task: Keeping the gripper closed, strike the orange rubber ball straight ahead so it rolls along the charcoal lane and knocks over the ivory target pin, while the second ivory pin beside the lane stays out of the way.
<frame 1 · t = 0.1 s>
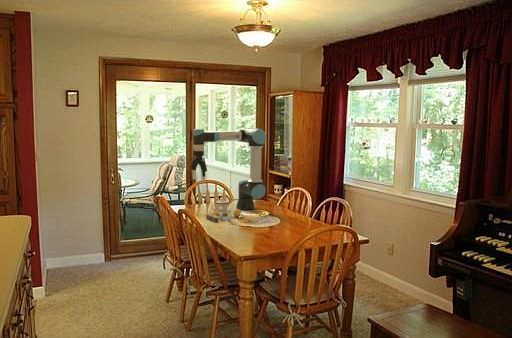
hand: (198, 180, 325), 28 cm above the table, tool pointing down, fingers open, 13 cm apart
teacup with lid: (219, 213, 345), on the table
back wall: (212, 220, 322), on the table
lane mark: (230, 217, 330), on the table
target pin: (220, 219, 326), on the table
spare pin: (229, 220, 322), on the table
ball: (237, 213, 333), on the table
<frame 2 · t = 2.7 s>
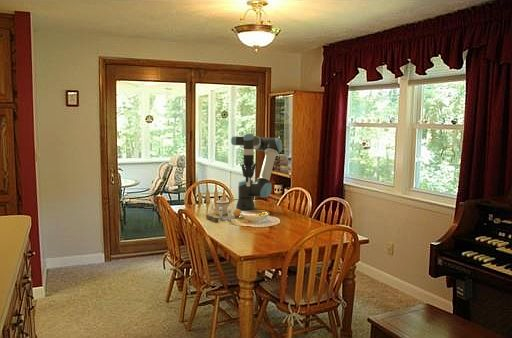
hand: (248, 186, 337), 22 cm above the table, tool pointing down, fingers closed
nothing on the table moved.
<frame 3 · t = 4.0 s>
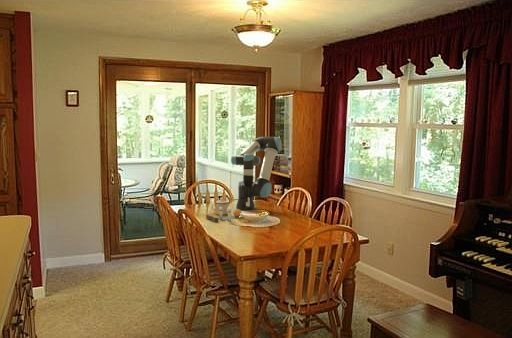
hand: (247, 206, 338), 7 cm above the table, tool pointing down, fingers closed
nothing on the table moved.
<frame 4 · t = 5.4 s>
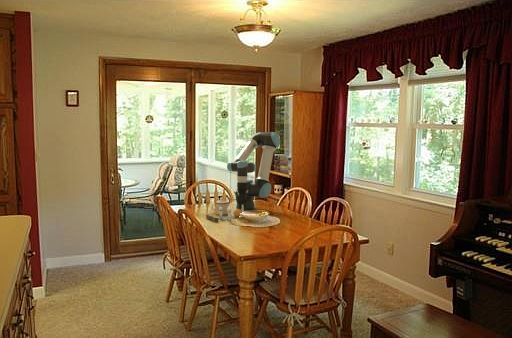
hand: (241, 213, 335), 2 cm above the table, tool pointing down, fingers closed
ball: (237, 213, 333), on the table, touching gripper
everything else where it was.
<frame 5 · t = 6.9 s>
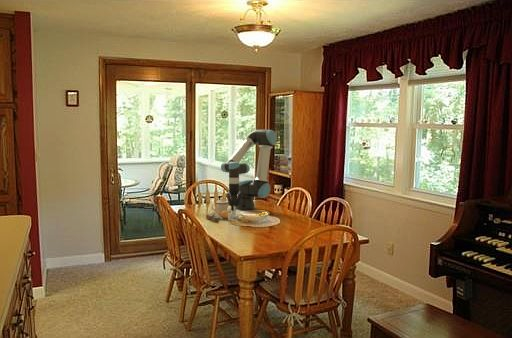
hand: (233, 214, 332), 2 cm above the table, tool pointing down, fingers closed
target pin: (220, 217, 325), point 1 cm above the table, tilted 59°, touching back wall
ball: (224, 214, 327), on the table
everything else where it was.
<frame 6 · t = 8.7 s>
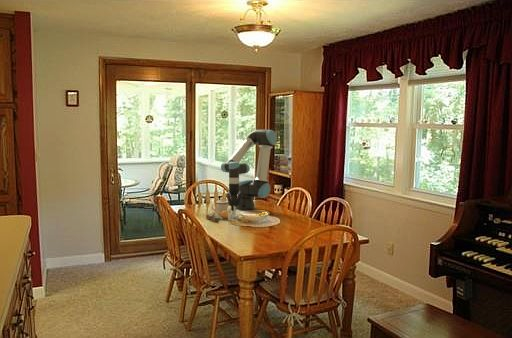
hand: (233, 214, 332), 2 cm above the table, tool pointing down, fingers closed
nothing on the table moved.
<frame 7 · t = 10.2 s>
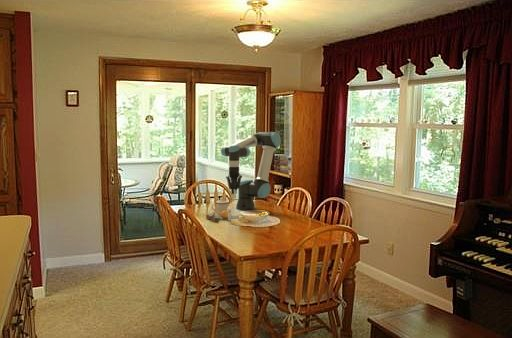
hand: (233, 198, 330), 14 cm above the table, tool pointing down, fingers closed
nothing on the table moved.
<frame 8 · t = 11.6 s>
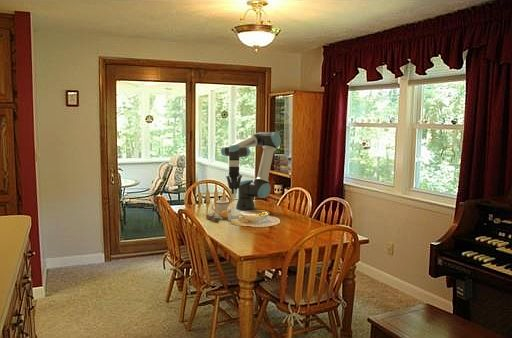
hand: (233, 198, 330), 14 cm above the table, tool pointing down, fingers closed
nothing on the table moved.
at the end: target pin tilted 59°; target pin never touched the robot; ball moved 10.8 cm from its start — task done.
